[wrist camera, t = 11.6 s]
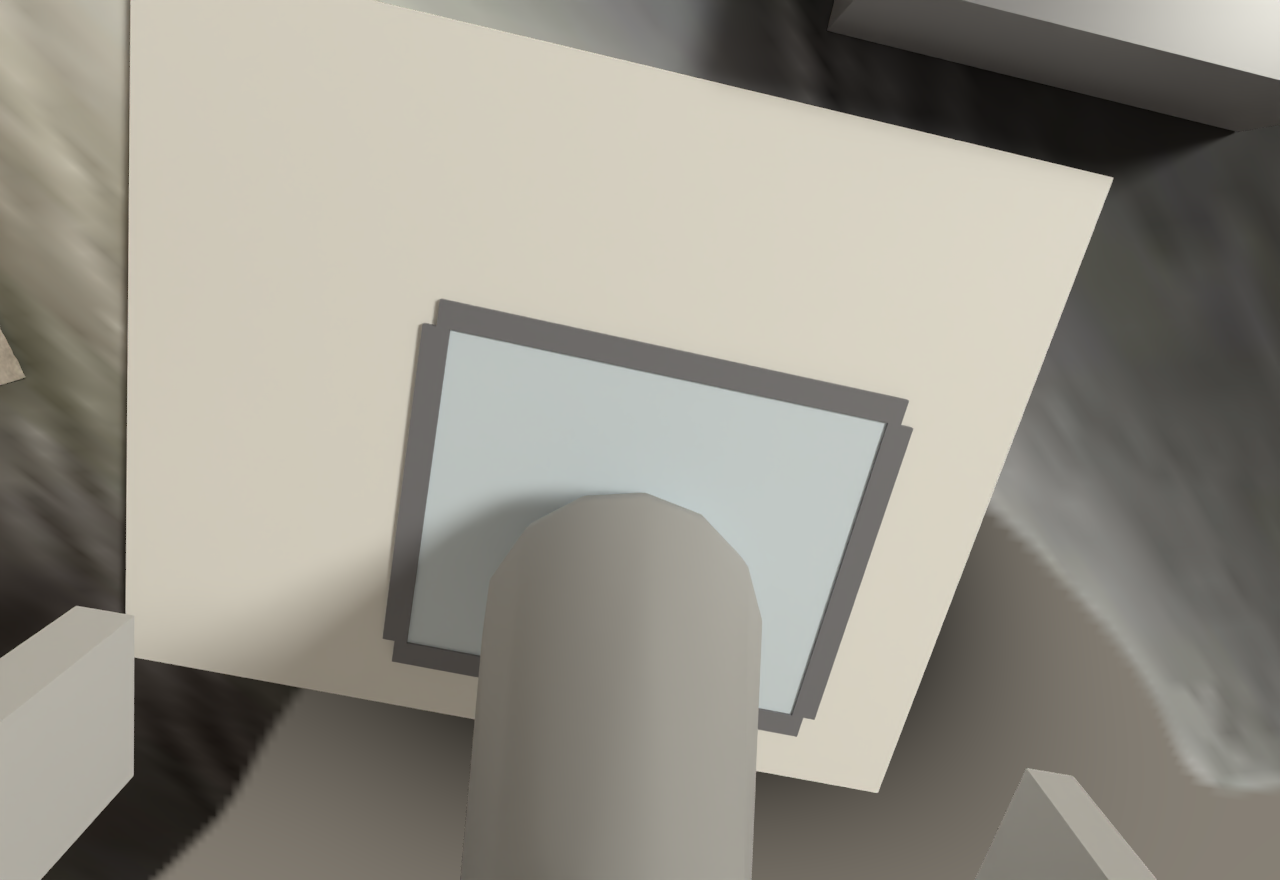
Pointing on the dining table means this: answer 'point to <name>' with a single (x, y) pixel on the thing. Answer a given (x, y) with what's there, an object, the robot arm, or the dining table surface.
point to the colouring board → (556, 350)
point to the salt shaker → (616, 701)
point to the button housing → (1101, 48)
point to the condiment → (8, 363)
